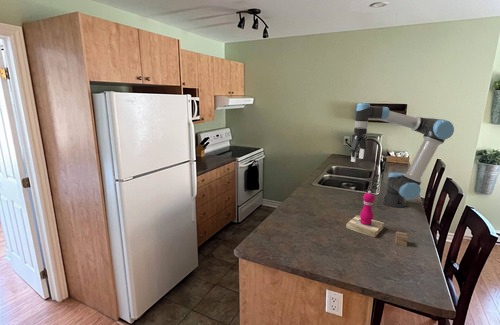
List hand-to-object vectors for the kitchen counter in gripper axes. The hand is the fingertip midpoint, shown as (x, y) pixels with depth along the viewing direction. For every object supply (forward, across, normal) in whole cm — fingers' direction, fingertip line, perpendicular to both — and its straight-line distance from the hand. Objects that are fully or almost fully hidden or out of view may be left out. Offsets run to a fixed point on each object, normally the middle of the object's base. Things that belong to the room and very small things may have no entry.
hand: (357, 160), depth 177 cm
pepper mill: (+32, +22, +17) cm, 42 cm away
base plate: (+35, +22, +17) cm, 44 cm away
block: (+35, +26, +37) cm, 57 cm away
